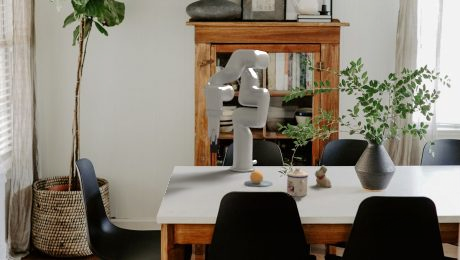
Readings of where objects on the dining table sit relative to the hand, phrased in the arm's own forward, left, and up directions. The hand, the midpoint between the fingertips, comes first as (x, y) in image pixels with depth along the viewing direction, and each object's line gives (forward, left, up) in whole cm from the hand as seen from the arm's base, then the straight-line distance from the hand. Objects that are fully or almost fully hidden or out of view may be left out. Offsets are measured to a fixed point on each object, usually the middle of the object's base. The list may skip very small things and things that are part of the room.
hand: (213, 152), depth 318 cm
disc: (-12, +17, -14) cm, 25 cm away
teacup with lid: (-5, +43, -14) cm, 46 cm away
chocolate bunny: (-28, +42, -14) cm, 53 cm away
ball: (-12, +16, -11) cm, 23 cm away
